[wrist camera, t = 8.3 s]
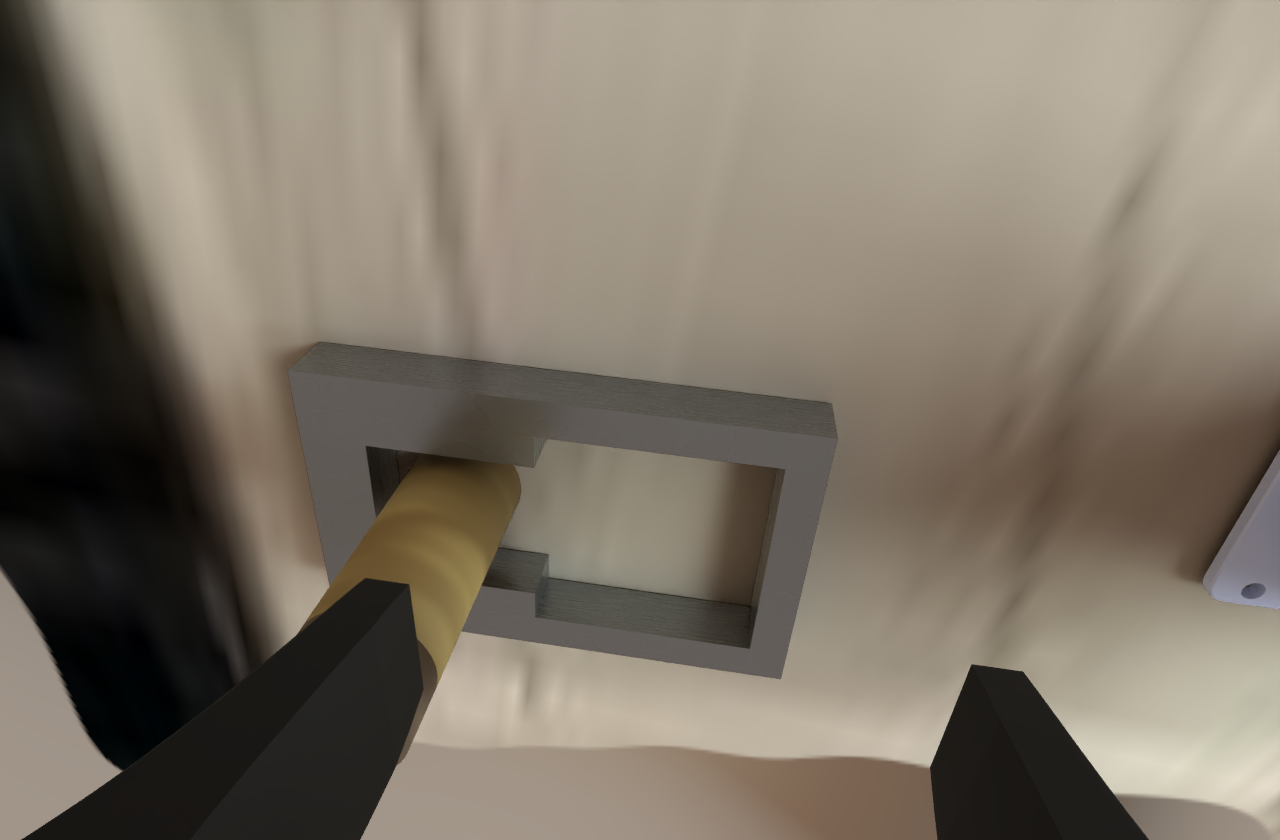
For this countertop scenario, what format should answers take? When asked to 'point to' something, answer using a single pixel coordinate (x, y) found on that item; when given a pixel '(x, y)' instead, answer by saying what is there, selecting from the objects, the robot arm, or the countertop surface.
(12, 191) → the countertop surface
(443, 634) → the peg
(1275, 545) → the robot arm
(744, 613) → the keyhole plate
